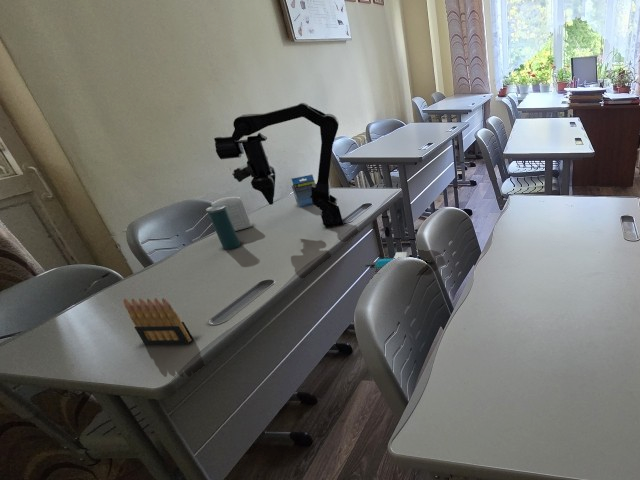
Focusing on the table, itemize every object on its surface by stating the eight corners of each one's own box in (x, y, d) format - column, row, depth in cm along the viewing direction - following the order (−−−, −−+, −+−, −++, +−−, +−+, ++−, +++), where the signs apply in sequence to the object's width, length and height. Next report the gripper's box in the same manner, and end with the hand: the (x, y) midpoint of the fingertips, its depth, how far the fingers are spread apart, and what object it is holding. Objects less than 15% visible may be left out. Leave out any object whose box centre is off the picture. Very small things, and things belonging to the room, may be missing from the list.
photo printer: (250, 224, 156) (238, 193, 149) (253, 226, 153) (241, 195, 147) (220, 232, 150) (207, 200, 143) (223, 235, 147) (209, 203, 141)
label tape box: (317, 200, 178) (309, 172, 172) (320, 202, 175) (312, 174, 169) (297, 205, 173) (288, 177, 167) (300, 207, 171) (291, 178, 164)
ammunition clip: (194, 339, 92) (170, 295, 86) (188, 344, 91) (163, 300, 85) (150, 339, 93) (123, 296, 87) (144, 344, 91) (116, 301, 85)
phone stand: (433, 252, 126) (433, 247, 125) (428, 270, 116) (428, 265, 115) (370, 255, 126) (369, 251, 125) (360, 274, 116) (359, 269, 115)
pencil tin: (244, 243, 140) (228, 204, 133) (234, 249, 135) (217, 210, 128) (230, 243, 140) (213, 205, 133) (219, 249, 136) (201, 210, 129)
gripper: (232, 153, 138) (248, 197, 146) (225, 165, 123) (243, 213, 131) (267, 149, 142) (281, 192, 150) (265, 160, 127) (280, 206, 135)
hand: (271, 200), depth 141 cm, fingers open, 9 cm apart
